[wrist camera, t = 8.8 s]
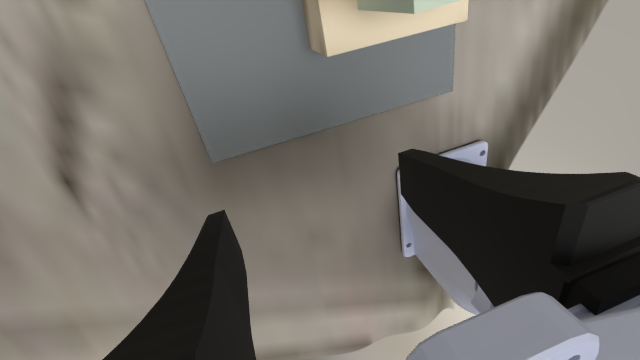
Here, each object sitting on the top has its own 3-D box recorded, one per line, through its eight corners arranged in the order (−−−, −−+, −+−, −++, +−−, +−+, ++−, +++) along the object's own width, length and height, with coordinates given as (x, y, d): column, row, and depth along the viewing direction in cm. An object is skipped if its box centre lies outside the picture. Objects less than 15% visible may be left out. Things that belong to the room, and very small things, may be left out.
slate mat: (447, 89, 23) (452, 90, 23) (211, 159, 21) (212, 163, 20) (454, -191, 16) (462, -197, 15) (89, -140, 13) (84, -145, 13)
